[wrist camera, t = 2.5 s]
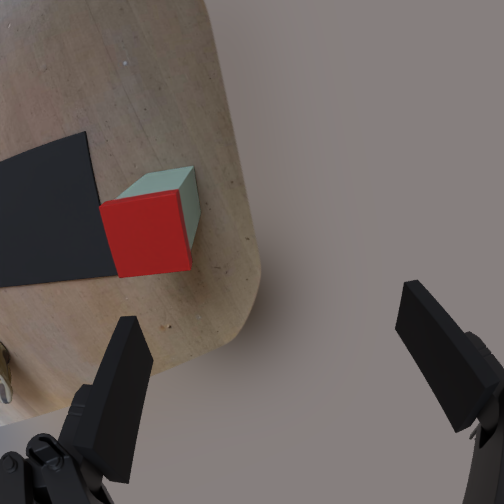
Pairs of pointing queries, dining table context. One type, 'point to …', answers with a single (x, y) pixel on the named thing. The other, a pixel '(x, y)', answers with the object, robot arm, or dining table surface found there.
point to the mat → (51, 216)
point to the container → (153, 223)
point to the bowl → (5, 377)
